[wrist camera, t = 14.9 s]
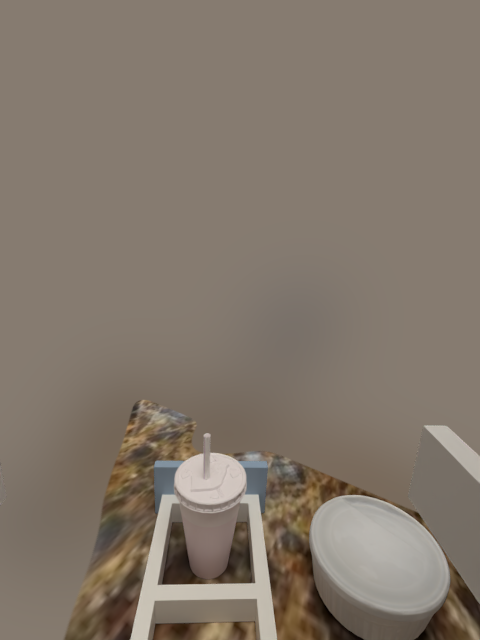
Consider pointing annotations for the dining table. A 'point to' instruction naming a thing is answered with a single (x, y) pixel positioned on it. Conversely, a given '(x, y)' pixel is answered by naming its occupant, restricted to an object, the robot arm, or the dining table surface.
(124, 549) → the dining table surface
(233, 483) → the smoothie
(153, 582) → the drawer frame
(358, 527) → the ramekin
